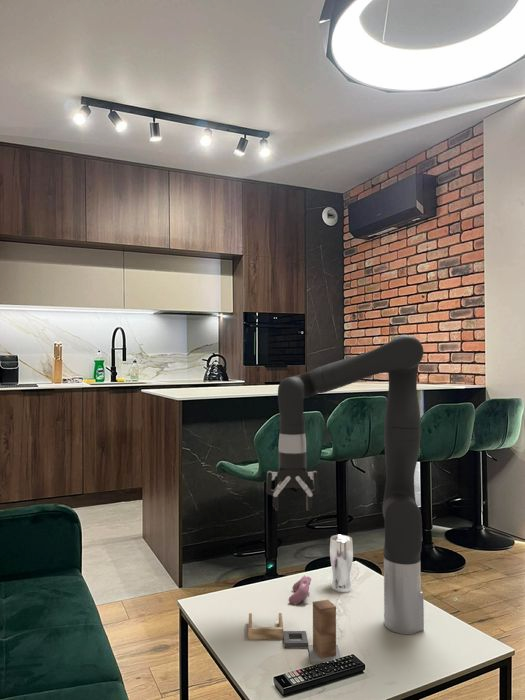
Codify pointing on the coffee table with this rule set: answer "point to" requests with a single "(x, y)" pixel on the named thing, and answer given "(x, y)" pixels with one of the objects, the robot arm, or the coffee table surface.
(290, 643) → the grey square frame
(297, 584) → the video game controller
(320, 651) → the walnut block
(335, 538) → the beer glass
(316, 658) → the grey pad
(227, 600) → the coffee table surface
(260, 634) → the wooden u-shaped bracket
